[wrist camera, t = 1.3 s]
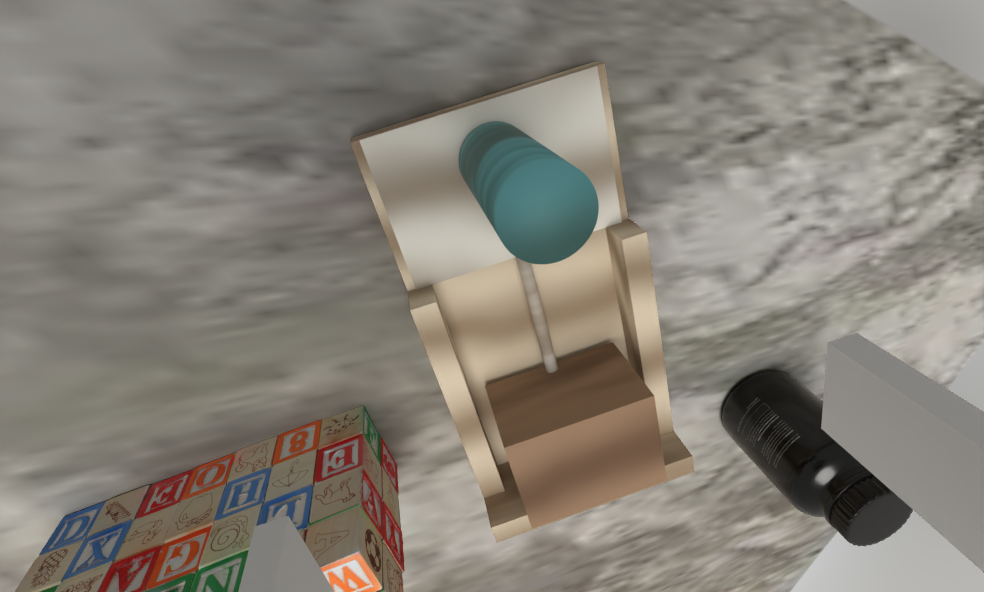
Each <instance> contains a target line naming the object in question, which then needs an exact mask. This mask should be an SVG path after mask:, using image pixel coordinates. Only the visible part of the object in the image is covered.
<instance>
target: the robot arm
mask: <svg viewBox="0 0 984 592" xmlns="http://www.w3.org/2000/svg"><path fill="white" fill-rule="evenodd" d="M821 429H822V430H824V431H825V432H826V433H827V434H828V435H829V436H830V437H831V438H833V439H834V440H835V441H836V442H837V443H838V444H839V445H840V446H842V447H843V448H844V449H845V450H846V451H847V452H848V453H849V454H851V455H852V456H853V457H854V458H855V459H856V460H857V461H859V462H860V463H861V464H862V465H863V466H864V467H865V468H866V469H868V470H869V471H870V472H871V473H872V474H873V475H874V476H875V477H877V478H878V479H879V480H880V481H881V482H882V483H883V484H885V485H886V486H887V487H888V488H889V489H890V490H891V491H892V492H894V493H895V494H896V495H897V496H898V497H899V498H900V499H901V500H903V501H904V502H905V503H906V504H907V505H908V506H909V507H910V508H912V509H913V510H914V511H915V512H916V513H917V514H918V515H920V516H921V517H922V518H923V519H924V520H925V521H926V522H928V523H929V524H930V525H931V526H932V527H933V528H934V529H936V530H937V531H938V532H939V533H940V534H941V535H942V536H943V537H944V538H946V539H947V540H948V541H949V542H950V543H951V544H952V545H954V546H955V547H956V548H957V549H958V550H959V551H960V552H961V553H962V554H964V555H965V556H966V557H967V558H968V559H969V560H970V561H972V562H973V563H974V564H975V565H976V566H977V567H978V568H979V569H981V570H982V571H983V572H984V412H983V411H982V410H980V409H978V408H977V407H975V406H973V405H972V404H970V403H969V402H967V401H965V400H964V399H962V398H961V397H959V396H957V395H956V394H954V393H953V392H951V391H949V390H948V389H946V388H945V387H943V386H941V385H940V384H938V383H936V382H935V381H933V380H932V379H930V378H928V377H927V376H925V375H924V374H922V373H920V372H919V371H917V370H915V369H914V368H912V367H911V366H909V365H907V364H906V363H904V362H903V361H901V360H899V359H898V358H896V357H895V356H893V355H891V354H890V353H888V352H886V351H885V350H883V349H882V348H880V347H878V346H877V345H875V344H874V343H872V342H870V341H869V340H867V339H865V338H864V337H862V336H861V335H859V334H857V333H856V334H853V335H850V336H846V337H843V338H840V339H837V340H834V341H831V342H828V343H827V357H826V370H825V384H824V397H823V410H822V424H821ZM238 592H334V590H333V588H332V587H331V585H330V584H329V582H328V580H327V579H326V577H325V575H324V574H323V572H322V570H321V569H320V567H319V565H318V564H317V562H316V560H315V559H314V557H313V555H312V554H311V552H310V550H309V549H308V547H307V546H306V544H305V542H304V541H303V539H302V537H301V536H300V534H299V532H298V531H297V529H296V527H295V526H294V524H293V522H292V521H291V519H290V517H289V516H286V517H283V518H280V519H277V520H274V521H271V522H267V523H264V524H261V525H258V526H255V527H254V531H253V535H252V539H251V543H250V547H249V551H248V555H247V559H246V563H245V567H244V571H243V575H242V579H241V583H240V587H239V591H238Z"/></svg>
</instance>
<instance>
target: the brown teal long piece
mask: <svg viewBox="0 0 984 592" xmlns="http://www.w3.org/2000/svg"><path fill="white" fill-rule="evenodd" d="M459 168H460V172H461V175H462V177H463V179H464V180H465V182H466V184H467V185H468V187H469V189H470V190H471V192H472V194H473V195H474V197H475V199H476V200H477V202H478V204H479V205H480V207H481V209H482V210H483V212H484V213H485V215H486V217H487V218H488V220H489V222H490V223H491V225H492V227H493V228H494V230H495V232H496V233H497V235H498V237H499V238H500V240H501V242H502V243H503V245H504V246H505V247H506V249H507V250H508V251H509V252H510V253H511V254H513V255H514V256H515V257H516V261H517V265H518V268H519V272H520V276H521V280H522V283H523V287H524V291H525V294H526V298H527V302H528V306H529V309H530V313H531V317H532V320H533V324H534V328H535V332H536V335H537V339H538V343H539V346H540V350H541V354H542V358H543V361H544V365H545V366H542V367H539V368H536V369H533V370H530V371H527V372H524V373H521V374H518V375H516V376H513V377H510V378H507V379H504V380H501V381H498V382H495V383H492V384H489V385H486V386H485V388H486V391H487V395H488V398H489V401H490V404H491V408H492V411H493V414H494V417H495V421H496V424H497V427H498V430H499V433H500V437H501V440H502V443H503V446H504V449H505V452H506V455H507V458H508V461H509V464H510V467H511V470H512V473H513V475H514V478H515V481H516V484H517V487H518V490H519V493H520V496H521V499H522V501H523V504H524V507H525V510H526V513H527V516H528V519H529V522H530V525H531V527H532V528H535V527H538V526H541V525H544V524H546V523H549V522H552V521H555V520H557V519H560V518H563V517H566V516H569V515H571V514H574V513H577V512H580V511H583V510H585V509H588V508H591V507H594V506H596V505H599V504H602V503H605V502H608V501H610V500H613V499H616V498H619V497H622V496H624V495H627V494H630V493H633V492H636V491H638V490H641V489H644V488H647V487H649V486H652V485H655V484H658V483H661V482H663V481H666V480H667V476H666V470H665V463H664V457H663V450H662V444H661V437H660V430H659V424H658V417H657V411H656V404H655V398H654V395H653V393H652V392H651V391H650V390H649V388H648V387H647V386H646V384H645V383H644V382H643V380H642V379H641V378H640V377H639V375H638V374H637V373H636V371H635V370H634V369H633V368H632V366H631V365H630V364H629V362H628V361H627V360H626V358H625V357H624V356H623V355H622V353H621V352H620V351H619V349H618V348H617V347H616V345H615V344H614V343H613V342H612V343H609V344H606V345H603V346H600V347H597V348H594V349H591V350H589V351H586V352H583V353H580V354H577V355H574V356H571V357H568V358H565V359H562V360H559V361H556V358H555V354H554V350H553V346H552V342H551V338H550V335H549V331H548V327H547V323H546V319H545V315H544V311H543V307H542V303H541V299H540V295H539V291H538V287H537V284H536V280H535V276H534V272H533V268H532V264H552V263H556V262H559V261H562V260H564V259H566V258H568V257H570V256H571V255H573V254H574V253H576V252H577V251H578V250H579V249H580V248H581V247H582V246H583V245H584V244H585V243H586V242H587V240H588V239H589V238H590V236H591V234H592V232H593V230H594V228H595V225H596V222H597V219H598V212H599V204H598V197H597V193H596V190H595V188H594V186H593V184H592V182H591V180H590V179H589V178H588V177H587V175H585V174H584V173H583V172H582V171H581V170H579V169H578V168H577V167H575V166H573V165H572V164H570V163H569V162H567V161H566V160H564V159H563V158H561V157H560V156H558V155H557V154H555V153H554V152H552V151H551V150H549V149H548V148H546V147H545V146H543V145H542V144H540V143H539V142H537V141H536V140H534V139H533V138H531V137H530V136H528V135H527V134H525V133H524V132H522V131H521V130H519V129H518V128H516V127H515V126H513V125H511V124H509V123H506V122H500V121H493V122H488V123H484V124H482V125H480V126H478V127H476V128H475V129H474V130H472V131H471V132H470V133H469V134H468V136H467V137H466V138H465V140H464V142H463V144H462V146H461V149H460V153H459ZM531 263H532V264H531Z"/></svg>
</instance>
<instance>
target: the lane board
mask: <svg viewBox="0 0 984 592" xmlns="http://www.w3.org/2000/svg"><path fill="white" fill-rule="evenodd" d="M493 121H500V122H506V123H509V124H511V125H513V126H515V127H516V128H518V129H519V130H521V131H522V132H524V133H525V134H527V135H528V136H530V137H531V138H533V139H534V140H536V141H537V142H539V143H540V144H542V145H543V146H545V147H546V148H548V149H549V150H551V151H552V152H554V153H555V154H557V155H558V156H560V157H561V158H563V159H564V160H566V161H567V162H569V163H570V164H572V165H573V166H575V167H577V168H578V169H579V170H581V171H582V172H583V173H584V174H585V175H587V177H588V178H589V179H590V180H591V182H592V184H593V186H594V188H595V190H596V193H597V197H598V204H599V212H598V219H597V222H596V225H595V228H594V230H593V232H592V234H591V236H590V238H589V239H588V240H587V242H586V243H585V244H584V245H583V246H582V247H581V248H580V249H579V250H578V251H577V252H576V253H574V254H573V255H571V256H570V257H568V258H566V259H564V260H562V261H559V262H556V263H552V264H532V263H531V264H532V268H533V272H534V276H535V280H536V284H537V287H538V291H539V295H540V299H541V303H542V307H543V311H544V315H545V319H546V323H547V327H548V331H549V335H550V338H551V342H552V346H553V350H554V354H555V358H556V361H559V360H562V359H565V358H568V357H571V356H574V355H577V354H580V353H583V352H586V351H589V350H591V349H594V348H597V347H600V346H603V345H606V344H609V343H612V342H613V343H614V344H615V345H616V347H617V348H618V349H619V351H620V352H621V353H622V355H623V356H624V357H625V358H626V360H627V361H628V362H629V364H630V365H631V366H632V368H633V369H634V370H635V371H636V373H637V374H638V375H639V377H640V378H641V379H642V380H643V382H644V383H645V384H646V386H647V387H648V388H649V390H650V391H651V392H652V393H653V395H654V398H655V404H656V411H657V417H658V424H659V430H660V437H661V444H662V450H663V457H664V463H665V470H666V476H667V480H666V481H663V482H661V483H664V482H667V481H670V480H673V479H675V478H678V477H681V476H684V475H687V474H689V473H692V472H694V467H693V458H692V455H691V454H690V452H689V451H688V450H687V448H686V447H685V446H684V444H683V443H682V442H681V440H680V439H679V438H678V436H677V435H676V434H675V432H674V430H673V422H672V415H671V408H670V400H669V393H668V386H667V378H666V371H665V363H664V356H663V349H662V341H661V334H660V327H659V319H658V312H657V304H656V297H655V290H654V282H653V275H652V268H651V260H650V253H649V246H648V238H647V232H646V231H645V230H643V229H642V228H641V227H639V226H638V225H636V224H635V223H634V222H632V221H631V220H630V219H628V213H627V207H626V200H625V193H624V187H623V180H622V174H621V167H620V160H619V154H618V147H617V141H616V134H615V127H614V121H613V114H612V108H611V101H610V94H609V88H608V81H607V75H606V68H605V63H601V62H592V63H589V64H585V65H582V66H579V67H576V68H573V69H570V70H566V71H563V72H560V73H557V74H554V75H550V76H547V77H544V78H541V79H538V80H534V81H531V82H528V83H525V84H522V85H519V86H515V87H512V88H509V89H506V90H503V91H499V92H496V93H493V94H490V95H487V96H483V97H480V98H477V99H474V100H471V101H468V102H464V103H461V104H458V105H455V106H452V107H448V108H445V109H442V110H439V111H436V112H432V113H429V114H426V115H423V116H420V117H417V118H413V119H410V120H407V121H404V122H401V123H397V124H394V125H391V126H388V127H385V128H381V129H378V130H375V131H372V132H369V133H366V134H362V135H359V136H356V137H353V138H351V141H350V144H351V147H352V149H353V152H354V154H355V157H356V160H357V162H358V165H359V167H360V170H361V172H362V175H363V178H364V180H365V183H366V185H367V188H368V190H369V193H370V196H371V198H372V201H373V203H374V206H375V208H376V211H377V214H378V216H379V219H380V221H381V224H382V226H383V229H384V232H385V234H386V237H387V239H388V242H389V244H390V247H391V250H392V252H393V255H394V257H395V260H396V262H397V265H398V267H399V270H400V273H401V275H402V278H403V280H404V283H405V285H406V288H407V291H408V297H409V305H410V311H411V314H412V316H413V319H414V321H415V324H416V327H417V329H418V332H419V334H420V337H421V339H422V342H423V344H424V347H425V349H426V352H427V354H428V357H429V359H430V362H431V365H432V367H433V370H434V372H435V375H436V377H437V380H438V382H439V385H440V387H441V390H442V392H443V395H444V397H445V400H446V403H447V405H448V408H449V410H450V413H451V415H452V418H453V420H454V423H455V425H456V428H457V430H458V433H459V436H460V438H461V441H462V443H463V446H464V448H465V451H466V453H467V456H468V458H469V461H470V463H471V466H472V468H473V471H474V474H475V476H476V479H477V481H478V484H479V486H480V489H481V491H482V494H483V496H484V499H485V504H486V508H487V512H488V516H489V521H490V525H491V529H492V531H493V534H494V536H495V539H496V541H497V542H500V541H503V540H505V539H508V538H511V537H514V536H517V535H519V534H522V533H525V532H528V531H530V530H533V529H536V528H539V527H542V526H544V525H547V524H550V523H553V522H556V521H558V520H561V519H564V518H567V517H569V516H572V515H575V514H578V513H581V512H583V511H586V510H589V509H592V508H595V507H597V506H600V505H603V504H606V503H609V502H611V501H614V500H617V499H620V498H622V497H625V496H628V495H631V494H634V493H636V492H639V491H642V490H645V489H648V488H650V487H653V486H656V485H659V484H661V483H658V484H655V485H652V486H649V487H647V488H644V489H641V490H638V491H636V492H633V493H630V494H627V495H624V496H622V497H619V498H616V499H613V500H610V501H608V502H605V503H602V504H599V505H596V506H594V507H591V508H588V509H585V510H583V511H580V512H577V513H574V514H571V515H569V516H566V517H563V518H560V519H557V520H555V521H552V522H549V523H546V524H544V525H541V526H538V527H535V528H532V527H531V525H530V522H529V519H528V516H527V513H526V510H525V507H524V504H523V501H522V499H521V496H520V493H519V490H518V487H517V484H516V481H515V478H514V475H513V473H512V470H511V467H510V464H509V461H508V458H507V455H506V452H505V449H504V446H503V443H502V440H501V437H500V433H499V430H498V427H497V424H496V421H495V417H494V414H493V411H492V408H491V404H490V401H489V398H488V395H487V391H486V388H485V386H486V385H489V384H492V383H495V382H498V381H501V380H504V379H507V378H510V377H513V376H516V375H518V374H521V373H524V372H527V371H530V370H533V369H536V368H539V367H542V366H545V365H544V361H543V358H542V354H541V350H540V346H539V343H538V339H537V335H536V332H535V328H534V324H533V320H532V317H531V313H530V309H529V306H528V302H527V298H526V294H525V291H524V287H523V283H522V280H521V276H520V272H519V268H518V265H517V261H516V257H515V256H514V255H513V254H511V253H510V252H509V251H508V250H507V249H506V247H505V246H504V245H503V243H502V242H501V240H500V238H499V237H498V235H497V233H496V232H495V230H494V228H493V227H492V225H491V223H490V222H489V220H488V218H487V217H486V215H485V213H484V212H483V210H482V209H481V207H480V205H479V204H478V202H477V200H476V199H475V197H474V195H473V194H472V192H471V190H470V189H469V187H468V185H467V184H466V182H465V180H464V179H463V177H462V175H461V172H460V168H459V153H460V149H461V146H462V144H463V142H464V140H465V138H466V137H467V136H468V134H469V133H470V132H471V131H472V130H474V129H475V128H476V127H478V126H480V125H482V124H484V123H488V122H493Z"/></svg>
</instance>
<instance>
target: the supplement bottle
mask: <svg viewBox="0 0 984 592" xmlns="http://www.w3.org/2000/svg"><path fill="white" fill-rule="evenodd" d="M822 410H823V401H822V400H821V399H820V398H818V397H817V396H816V395H815V394H813V393H812V392H811V391H810V390H808V389H807V388H806V387H805V386H803V385H802V384H801V383H799V382H798V381H797V380H796V379H794V378H793V377H791V376H790V375H788V374H786V373H783V372H778V371H767V372H762V373H758V374H756V375H753V376H751V377H749V378H747V379H746V380H744V381H743V382H742V383H740V384H739V385H738V386H737V387H736V388H735V389H734V390H733V391H732V392H731V394H730V395H729V397H728V398H727V400H726V402H725V405H724V407H723V412H722V421H723V425H724V428H725V430H726V431H727V433H728V434H729V435H730V436H731V438H732V439H733V440H734V441H735V442H736V443H737V444H738V446H739V447H740V448H741V449H742V450H743V451H744V452H745V453H746V454H747V455H748V457H749V458H750V459H751V460H752V461H753V462H754V463H755V464H756V465H757V466H758V468H759V469H760V470H761V471H762V472H763V473H764V474H765V475H766V476H767V477H768V479H769V480H770V481H771V482H772V483H773V484H774V485H775V486H776V487H777V488H778V490H779V491H780V492H781V493H782V494H783V495H784V496H785V497H786V498H787V499H788V500H789V502H790V503H791V504H792V505H793V506H794V507H796V508H797V509H798V510H800V511H801V512H803V513H805V514H808V515H811V516H815V517H825V519H826V520H827V522H828V523H829V524H830V525H831V526H832V527H833V528H835V529H836V530H837V531H838V532H839V533H840V534H841V535H842V536H843V537H844V538H845V539H846V540H847V541H848V542H849V543H852V544H853V545H858V546H866V545H872V544H875V543H878V542H880V541H882V540H884V539H886V538H888V537H890V536H891V535H892V534H893V533H895V532H896V531H897V530H898V529H900V528H901V527H902V525H903V524H904V523H905V522H906V521H907V519H908V518H909V517H910V514H911V513H912V511H913V509H912V508H910V507H909V506H908V505H907V504H906V503H905V502H904V501H903V500H901V499H900V498H899V497H898V496H897V495H896V494H895V493H894V492H892V491H891V490H890V489H889V488H888V487H887V486H886V485H885V484H883V483H882V482H881V481H880V480H879V479H878V478H877V477H875V476H874V475H873V474H872V473H871V472H870V471H869V470H868V469H866V468H865V467H864V466H863V465H862V464H861V463H860V462H859V461H857V460H856V459H855V458H854V457H853V456H852V455H851V454H849V453H848V452H847V451H846V450H845V449H844V448H843V447H842V446H840V445H839V444H838V443H837V442H836V441H835V440H834V439H833V438H831V437H830V436H829V435H828V434H827V433H826V432H825V431H824V430H822V429H821V424H822Z"/></svg>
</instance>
